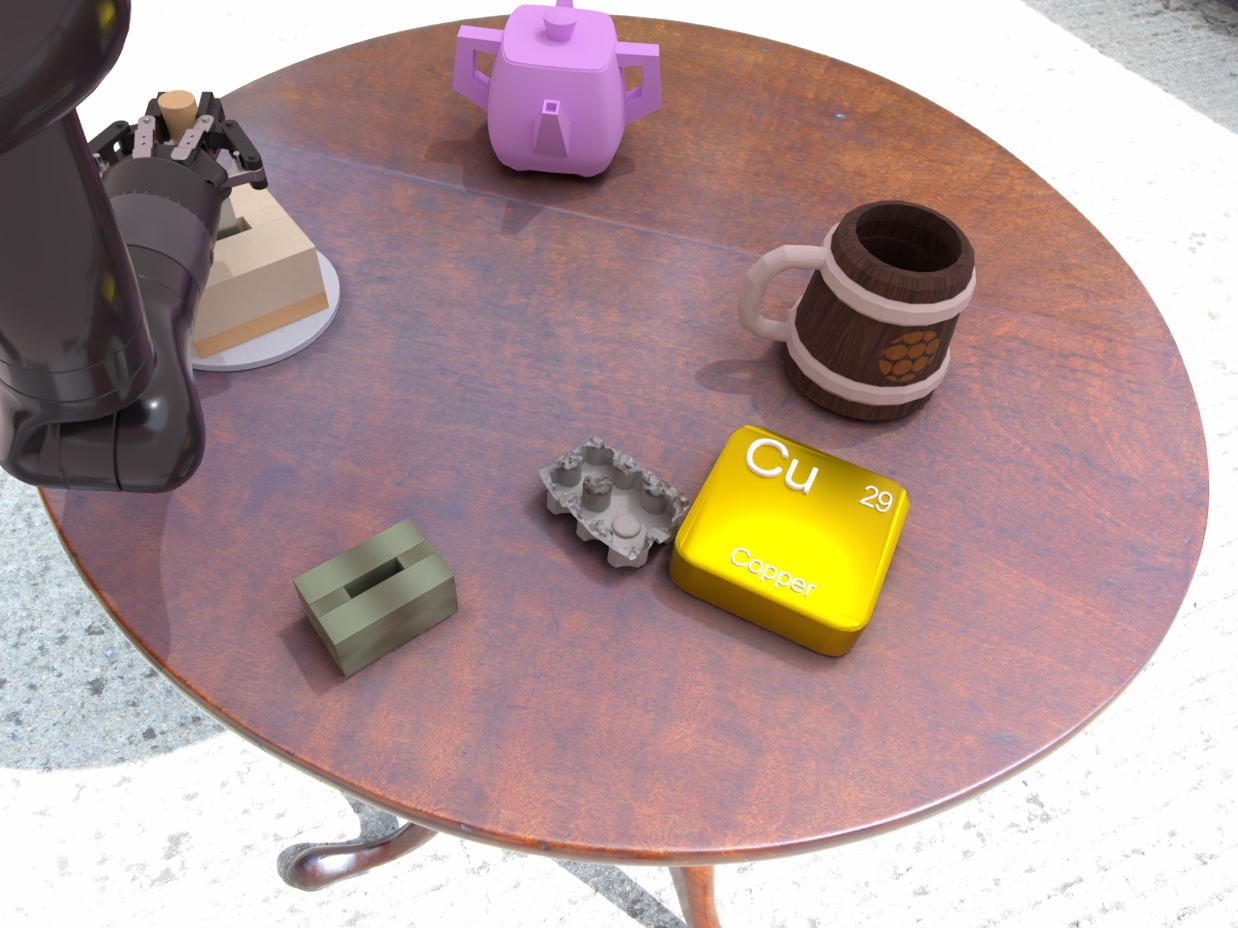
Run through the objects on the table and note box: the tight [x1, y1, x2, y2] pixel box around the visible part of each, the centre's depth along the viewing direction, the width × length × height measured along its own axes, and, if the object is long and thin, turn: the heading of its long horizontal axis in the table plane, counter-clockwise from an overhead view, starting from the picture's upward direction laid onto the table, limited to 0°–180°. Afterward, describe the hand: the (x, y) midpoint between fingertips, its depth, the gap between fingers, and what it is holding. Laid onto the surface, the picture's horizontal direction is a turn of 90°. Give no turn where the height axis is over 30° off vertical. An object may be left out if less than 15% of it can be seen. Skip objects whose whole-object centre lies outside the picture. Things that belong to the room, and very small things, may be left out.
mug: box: [737, 199, 977, 421], centre depth 80 cm, size 20×15×15 cm
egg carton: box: [538, 435, 691, 569], centre depth 72 cm, size 11×8×4 cm
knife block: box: [292, 516, 459, 678], centre depth 64 cm, size 9×6×5 cm, turn 128°
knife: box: [158, 89, 241, 241], centre depth 75 cm, size 4×3×16 cm
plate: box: [191, 248, 342, 373], centre depth 84 cm, size 18×18×1 cm
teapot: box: [451, 0, 662, 178], centre depth 98 cm, size 19×18×15 cm
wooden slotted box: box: [192, 183, 329, 359], centre depth 81 cm, size 12×12×7 cm
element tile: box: [668, 424, 911, 657], centre depth 71 cm, size 15×15×5 cm
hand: (189, 103), depth 72 cm, fingers closed on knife, 2 cm apart
